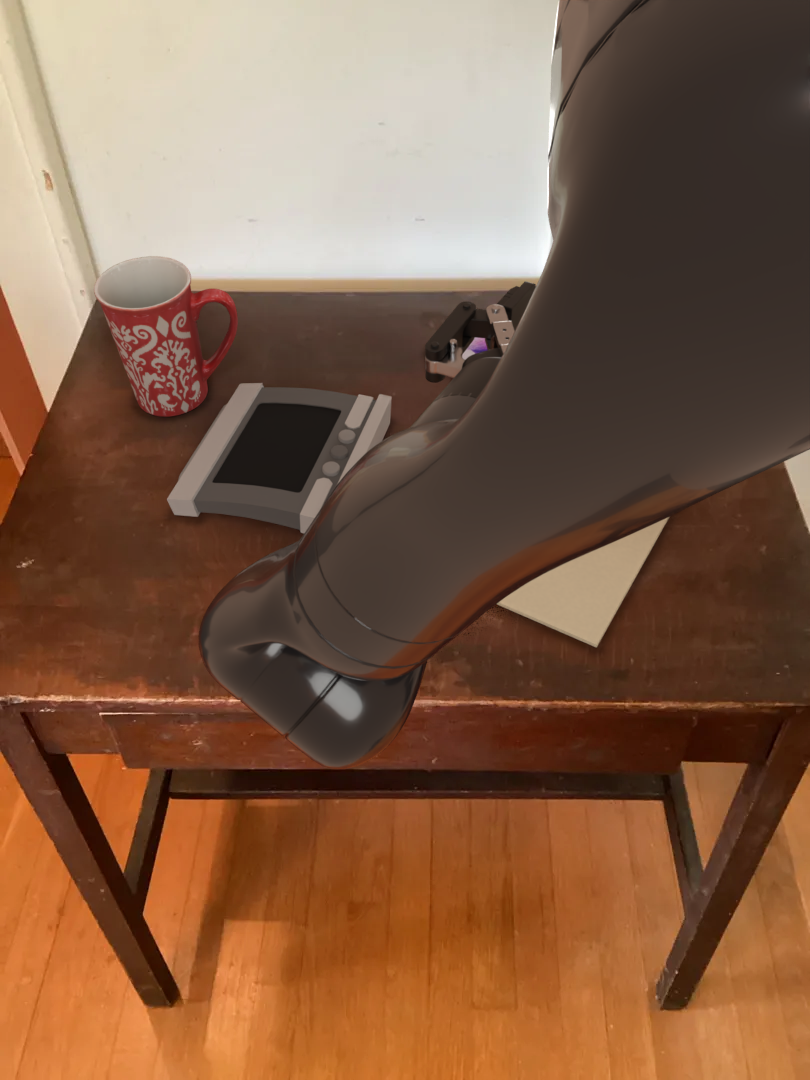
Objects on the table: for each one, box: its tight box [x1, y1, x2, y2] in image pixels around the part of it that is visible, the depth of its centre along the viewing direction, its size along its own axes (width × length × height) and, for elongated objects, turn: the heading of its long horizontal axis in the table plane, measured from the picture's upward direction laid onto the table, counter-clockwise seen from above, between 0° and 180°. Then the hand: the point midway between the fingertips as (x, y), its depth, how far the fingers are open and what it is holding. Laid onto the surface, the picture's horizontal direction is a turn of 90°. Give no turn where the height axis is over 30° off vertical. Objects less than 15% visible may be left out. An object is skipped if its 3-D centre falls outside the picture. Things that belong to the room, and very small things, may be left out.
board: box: [496, 517, 670, 648], centre depth 86 cm, size 18×28×1 cm, turn 149°
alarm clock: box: [166, 382, 393, 534], centre depth 89 cm, size 17×5×16 cm
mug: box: [93, 255, 239, 418], centre depth 93 cm, size 13×9×14 cm
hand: (588, 311), depth 63 cm, fingers open, 8 cm apart
